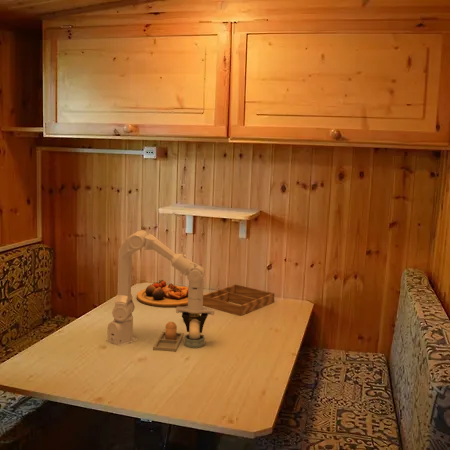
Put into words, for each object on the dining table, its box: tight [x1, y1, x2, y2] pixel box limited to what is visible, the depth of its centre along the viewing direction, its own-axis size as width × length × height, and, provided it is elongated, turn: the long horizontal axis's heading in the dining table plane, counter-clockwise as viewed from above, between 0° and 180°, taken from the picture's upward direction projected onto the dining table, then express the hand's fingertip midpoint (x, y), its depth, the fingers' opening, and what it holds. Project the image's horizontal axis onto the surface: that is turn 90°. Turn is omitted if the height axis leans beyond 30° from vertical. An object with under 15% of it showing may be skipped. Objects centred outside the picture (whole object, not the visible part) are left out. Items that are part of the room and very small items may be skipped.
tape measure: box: [182, 313, 201, 323], centre depth 227 cm, size 7×7×4 cm
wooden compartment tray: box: [203, 284, 275, 317], centre depth 256 cm, size 29×24×4 cm
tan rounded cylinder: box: [188, 319, 201, 339], centre depth 200 cm, size 4×4×7 cm
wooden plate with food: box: [136, 279, 188, 308], centre depth 262 cm, size 32×32×8 cm
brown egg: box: [164, 321, 178, 340], centre depth 205 cm, size 4×4×7 cm
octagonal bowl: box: [184, 333, 205, 349], centre depth 201 cm, size 8×8×4 cm
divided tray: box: [152, 331, 185, 353], centre depth 202 cm, size 16×9×2 cm, turn 174°
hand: (194, 331), depth 200 cm, fingers closed on tan rounded cylinder, 4 cm apart
